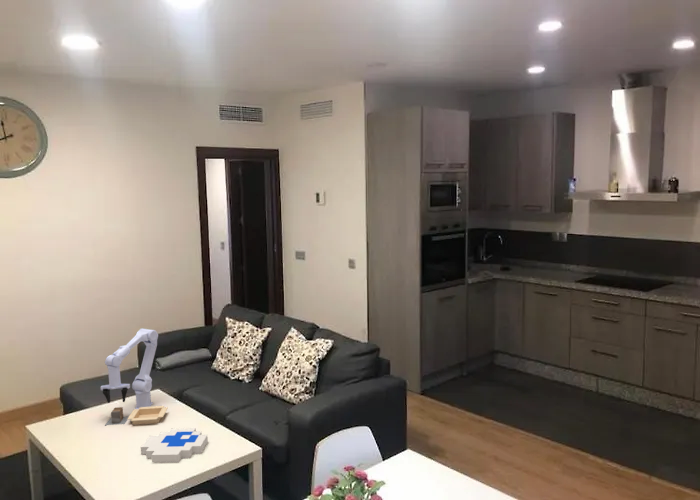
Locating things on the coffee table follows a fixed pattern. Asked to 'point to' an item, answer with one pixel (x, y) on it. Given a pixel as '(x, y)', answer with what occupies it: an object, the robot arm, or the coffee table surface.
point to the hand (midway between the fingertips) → (116, 401)
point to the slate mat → (117, 423)
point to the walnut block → (117, 415)
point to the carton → (147, 414)
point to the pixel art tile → (174, 445)
